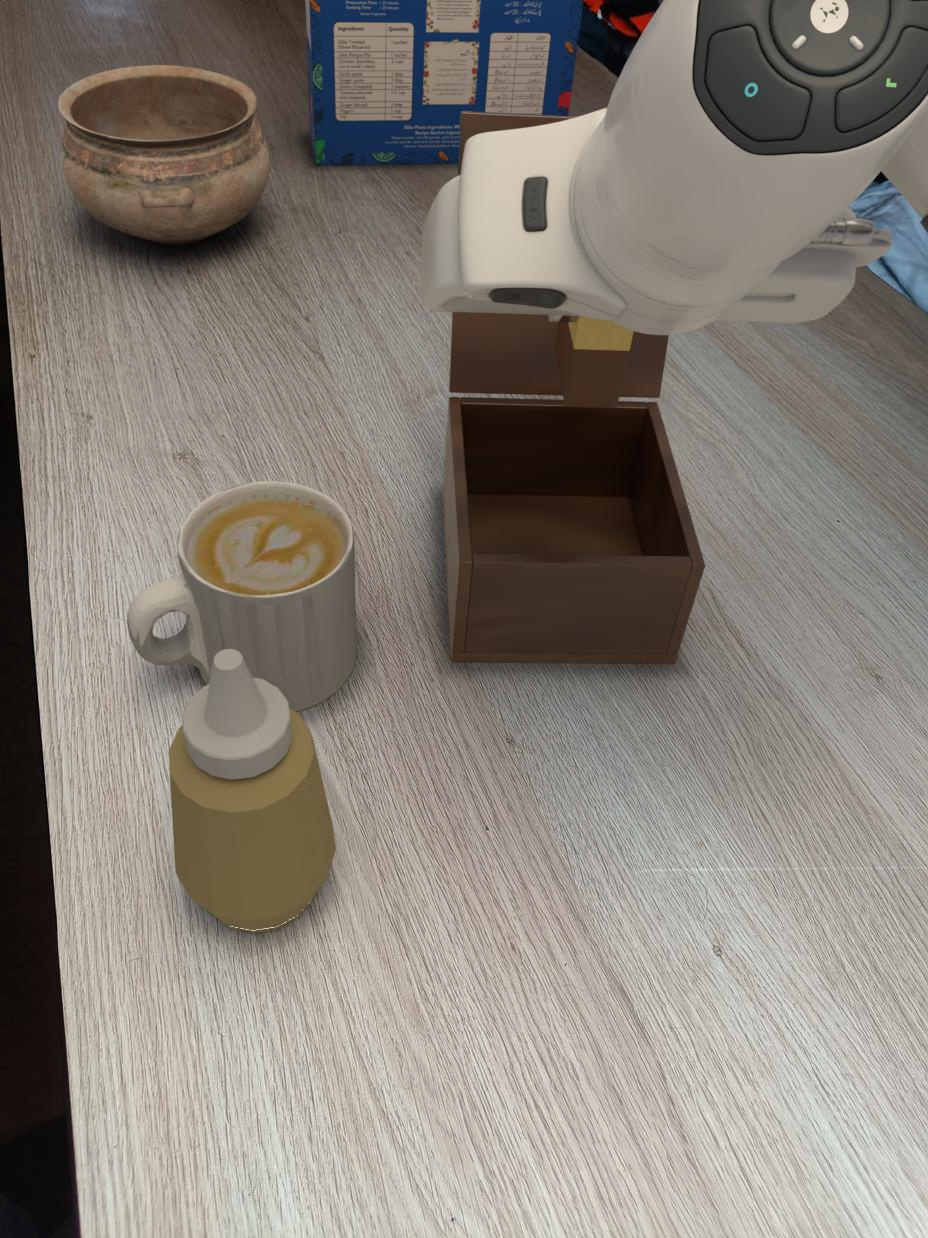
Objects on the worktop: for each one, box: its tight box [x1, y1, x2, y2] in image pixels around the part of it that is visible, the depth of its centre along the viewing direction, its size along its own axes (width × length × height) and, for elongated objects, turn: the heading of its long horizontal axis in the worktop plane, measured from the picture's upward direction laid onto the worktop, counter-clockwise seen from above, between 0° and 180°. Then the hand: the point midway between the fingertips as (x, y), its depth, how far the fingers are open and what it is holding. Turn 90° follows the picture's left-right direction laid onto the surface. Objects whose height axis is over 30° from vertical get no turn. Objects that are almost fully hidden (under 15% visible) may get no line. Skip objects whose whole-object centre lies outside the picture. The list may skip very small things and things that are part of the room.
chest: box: [442, 396, 706, 664], centre depth 71 cm, size 17×15×9 cm
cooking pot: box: [57, 64, 270, 247], centre depth 101 cm, size 25×19×12 cm
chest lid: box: [448, 111, 670, 399], centre depth 71 cm, size 17×15×4 cm
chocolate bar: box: [554, 316, 634, 408], centre depth 59 cm, size 3×6×10 cm, turn 3°
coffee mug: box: [126, 480, 357, 713], centre depth 64 cm, size 13×10×10 cm
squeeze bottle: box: [168, 649, 337, 934], centre depth 50 cm, size 8×8×18 cm
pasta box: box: [304, 0, 584, 167], centre depth 112 cm, size 28×8×28 cm, turn 100°
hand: (601, 308), depth 58 cm, fingers closed on chocolate bar, 3 cm apart
